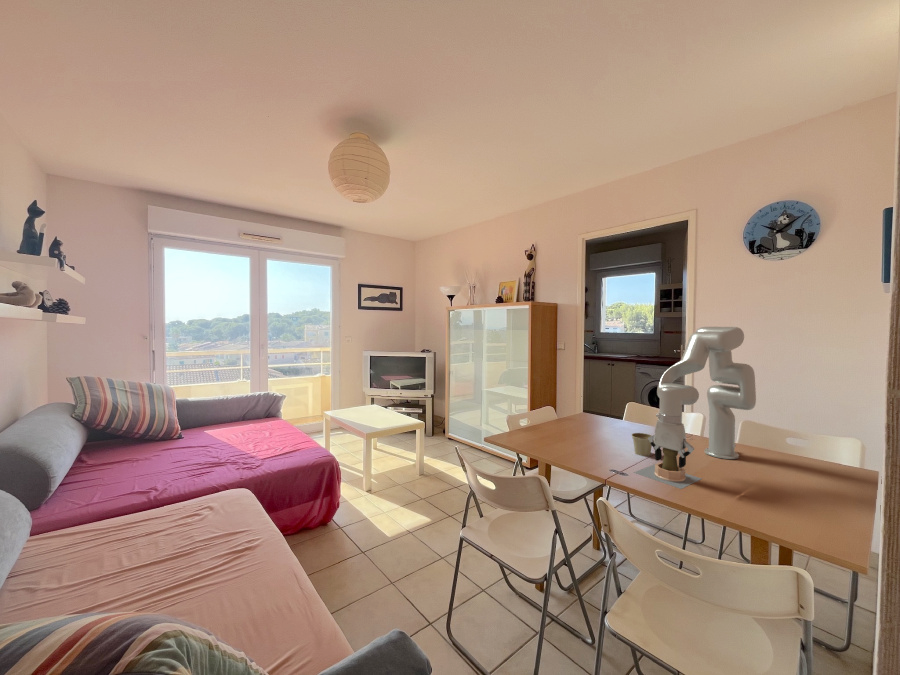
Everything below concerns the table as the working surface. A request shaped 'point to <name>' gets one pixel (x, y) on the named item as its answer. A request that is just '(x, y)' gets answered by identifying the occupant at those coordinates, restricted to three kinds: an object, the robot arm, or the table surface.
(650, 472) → the felt mat
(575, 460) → the table surface
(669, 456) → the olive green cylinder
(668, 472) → the peach octagonal bowl
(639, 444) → the flower pot
